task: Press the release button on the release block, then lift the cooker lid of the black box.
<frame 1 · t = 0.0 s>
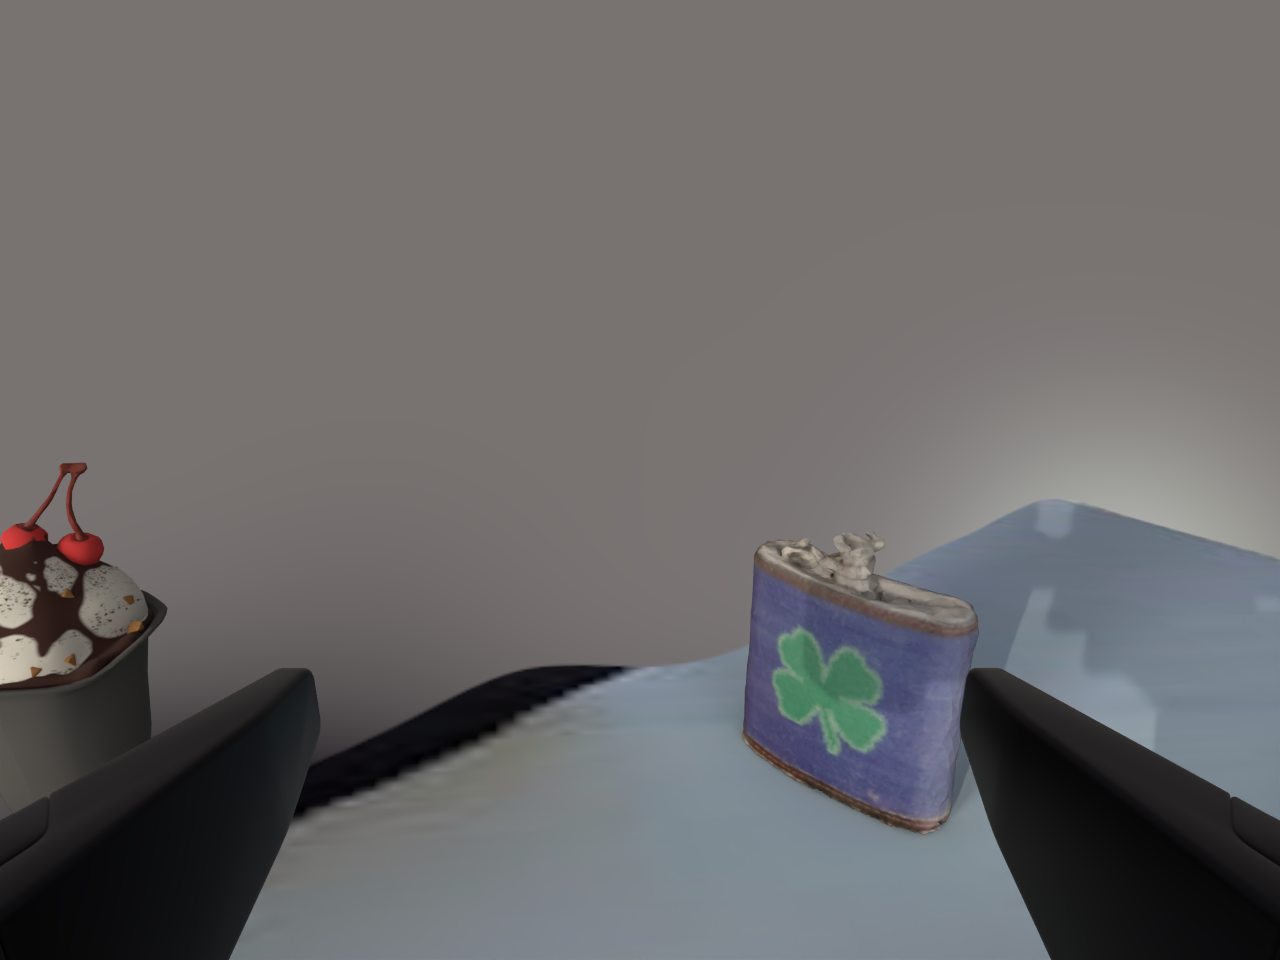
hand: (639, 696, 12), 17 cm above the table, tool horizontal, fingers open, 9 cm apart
sundae: (115, 895, 29), on the table
flask: (835, 777, 35), on the table
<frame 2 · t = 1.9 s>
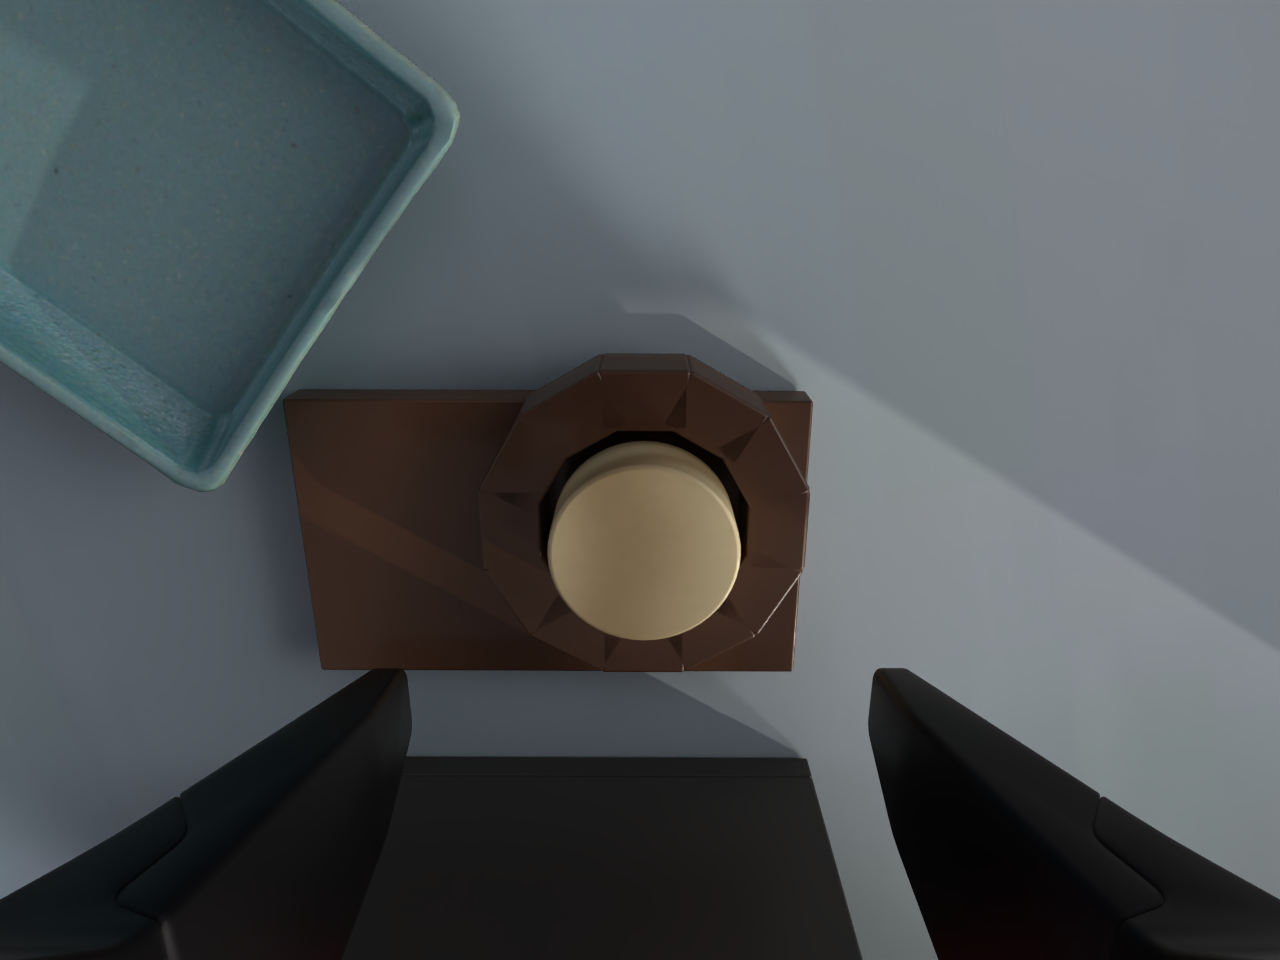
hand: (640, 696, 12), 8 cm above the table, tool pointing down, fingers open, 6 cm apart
black box: (569, 919, 24), on the table
release block: (556, 527, 20), on the table
release button: (644, 540, 17), point 3 cm above the table, slide at 0.1 cm
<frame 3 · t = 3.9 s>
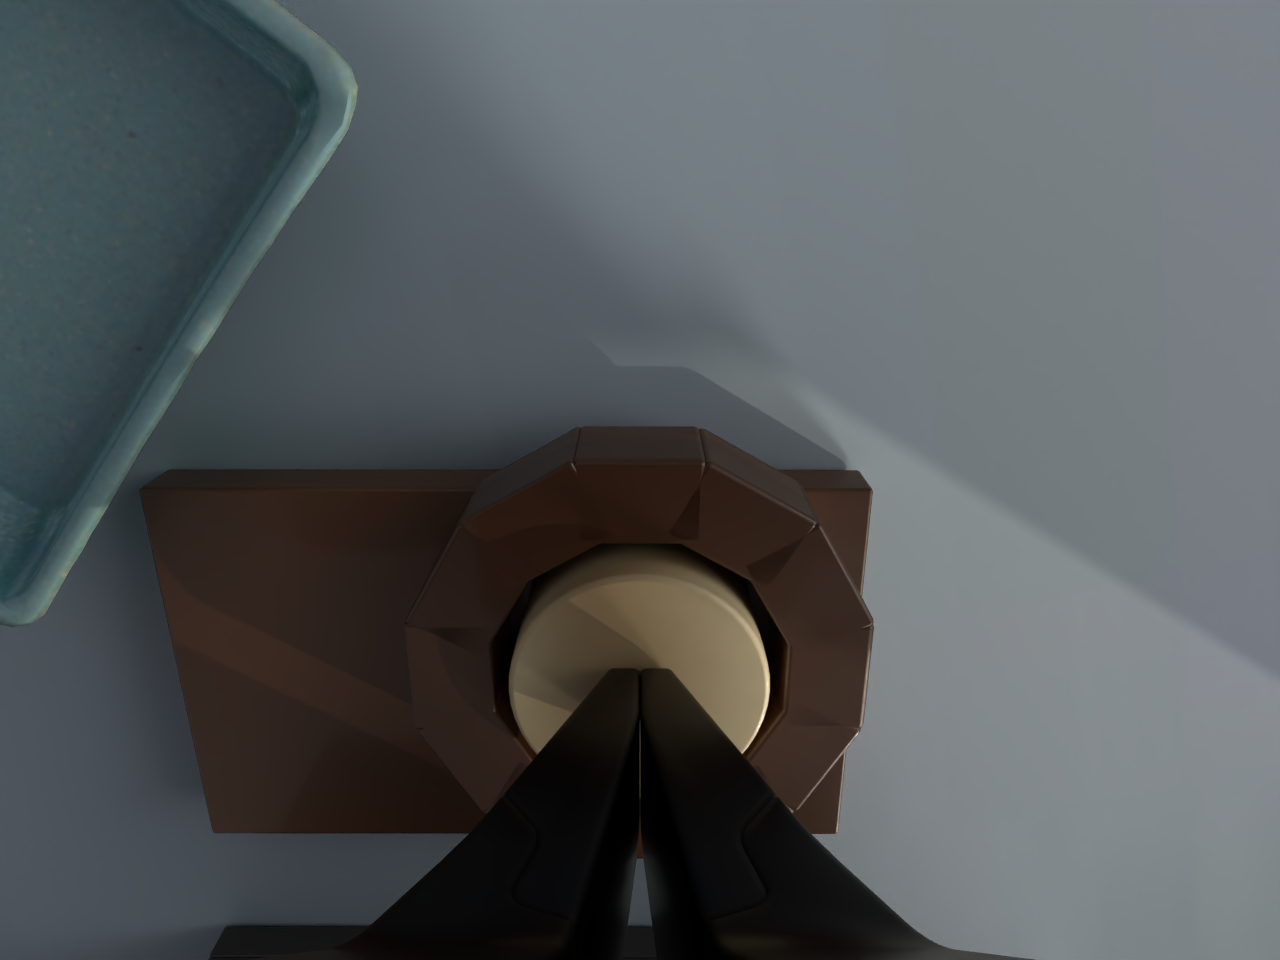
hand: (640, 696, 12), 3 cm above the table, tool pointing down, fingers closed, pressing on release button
release block: (523, 646, 15), on the table
release button: (639, 663, 12), point 2 cm above the table, slide at -0.7 cm, touching gripper
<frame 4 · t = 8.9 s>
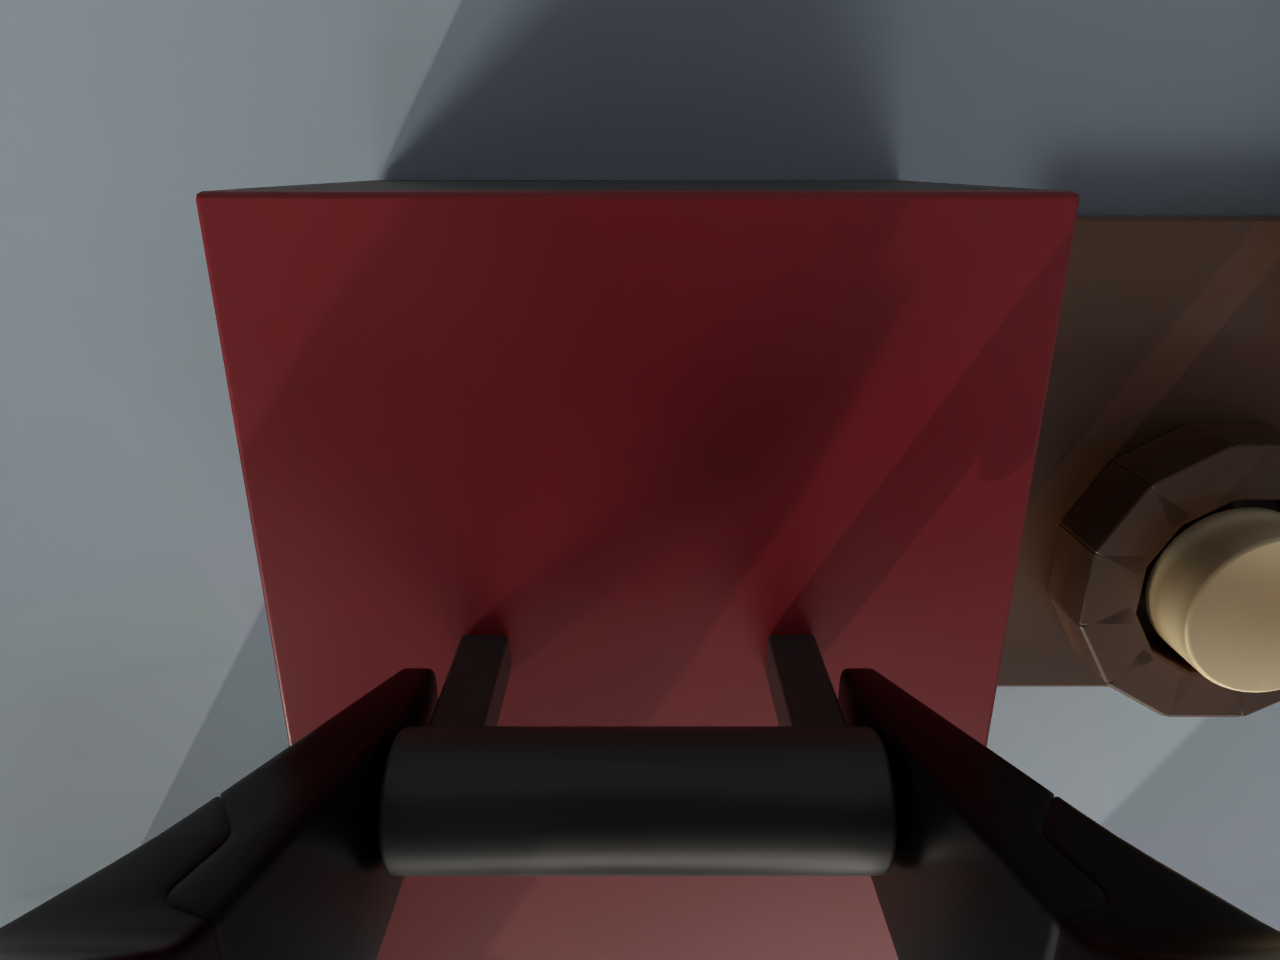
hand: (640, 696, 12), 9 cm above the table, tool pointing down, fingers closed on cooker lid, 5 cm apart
black box: (638, 463, 20), on the table
release block: (1146, 463, 20), on the table
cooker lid: (637, 718, 11), point 9 cm above the table, hinge at 0.0°, touching gripper
release button: (1251, 599, 18), point 3 cm above the table, slide at 0.1 cm
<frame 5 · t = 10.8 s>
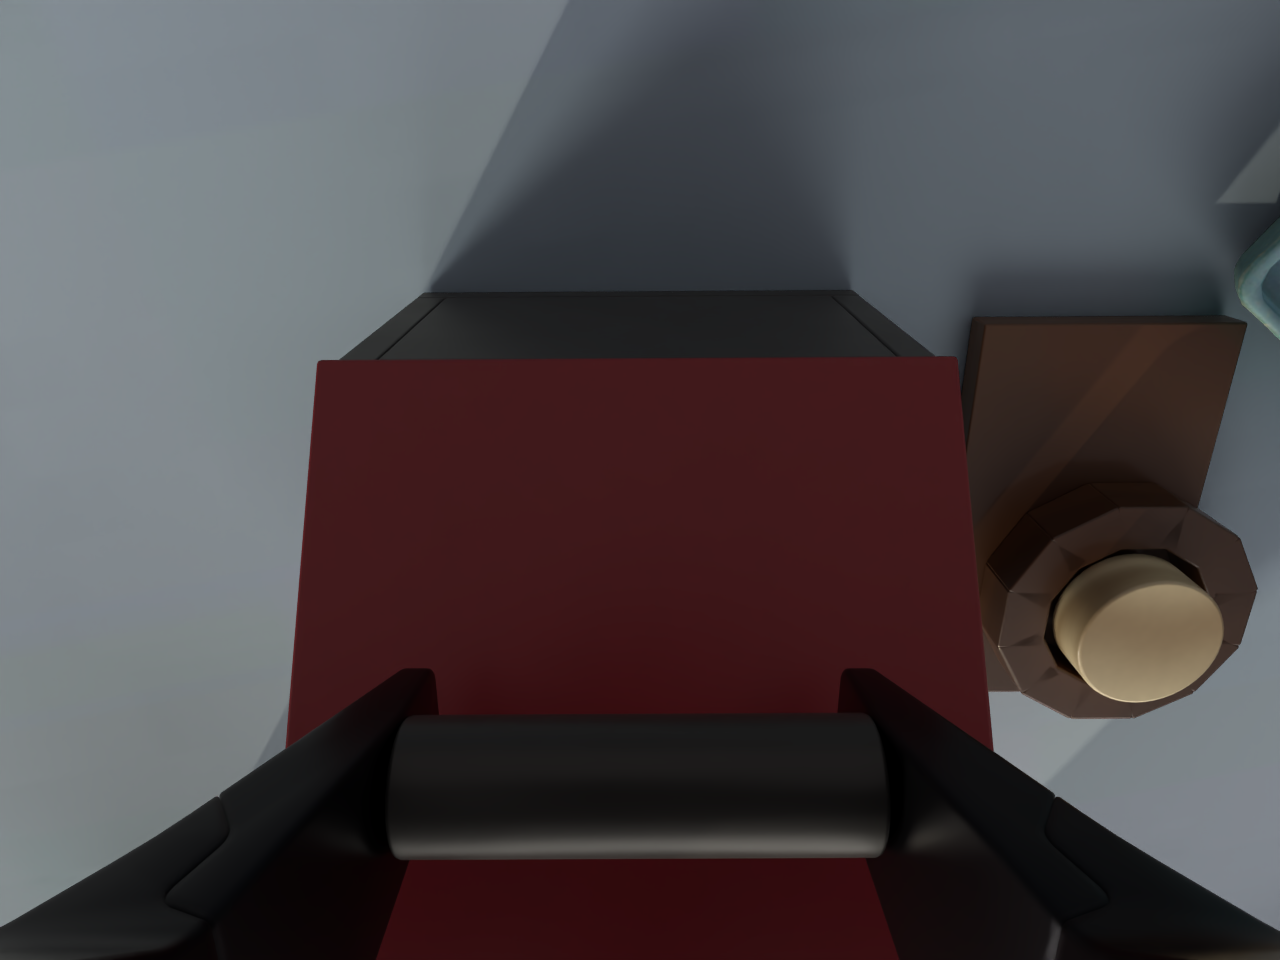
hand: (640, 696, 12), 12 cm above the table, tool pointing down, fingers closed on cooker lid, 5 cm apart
black box: (639, 513, 24), on the table
release block: (1059, 510, 24), on the table
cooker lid: (638, 776, 12), point 13 cm above the table, hinge at 35.5°, touching gripper
release button: (1134, 628, 22), point 3 cm above the table, slide at 0.1 cm
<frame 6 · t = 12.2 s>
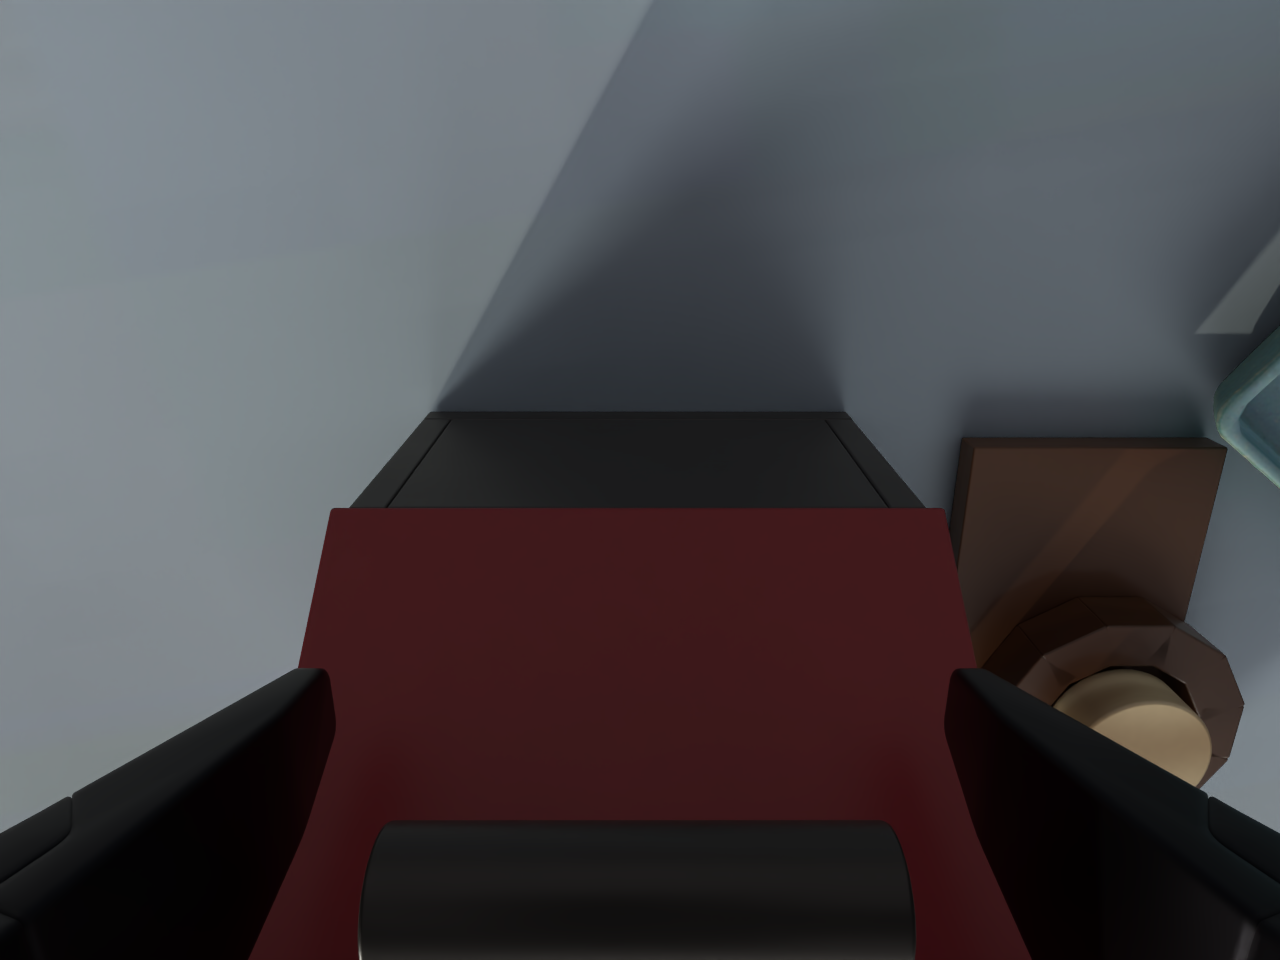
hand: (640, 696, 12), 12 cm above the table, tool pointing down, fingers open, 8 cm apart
black box: (638, 620, 24), on the table
release block: (1049, 620, 25), on the table
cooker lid: (637, 920, 11), point 14 cm above the table, hinge at 50.6°
release button: (1124, 742, 22), point 3 cm above the table, slide at 0.1 cm
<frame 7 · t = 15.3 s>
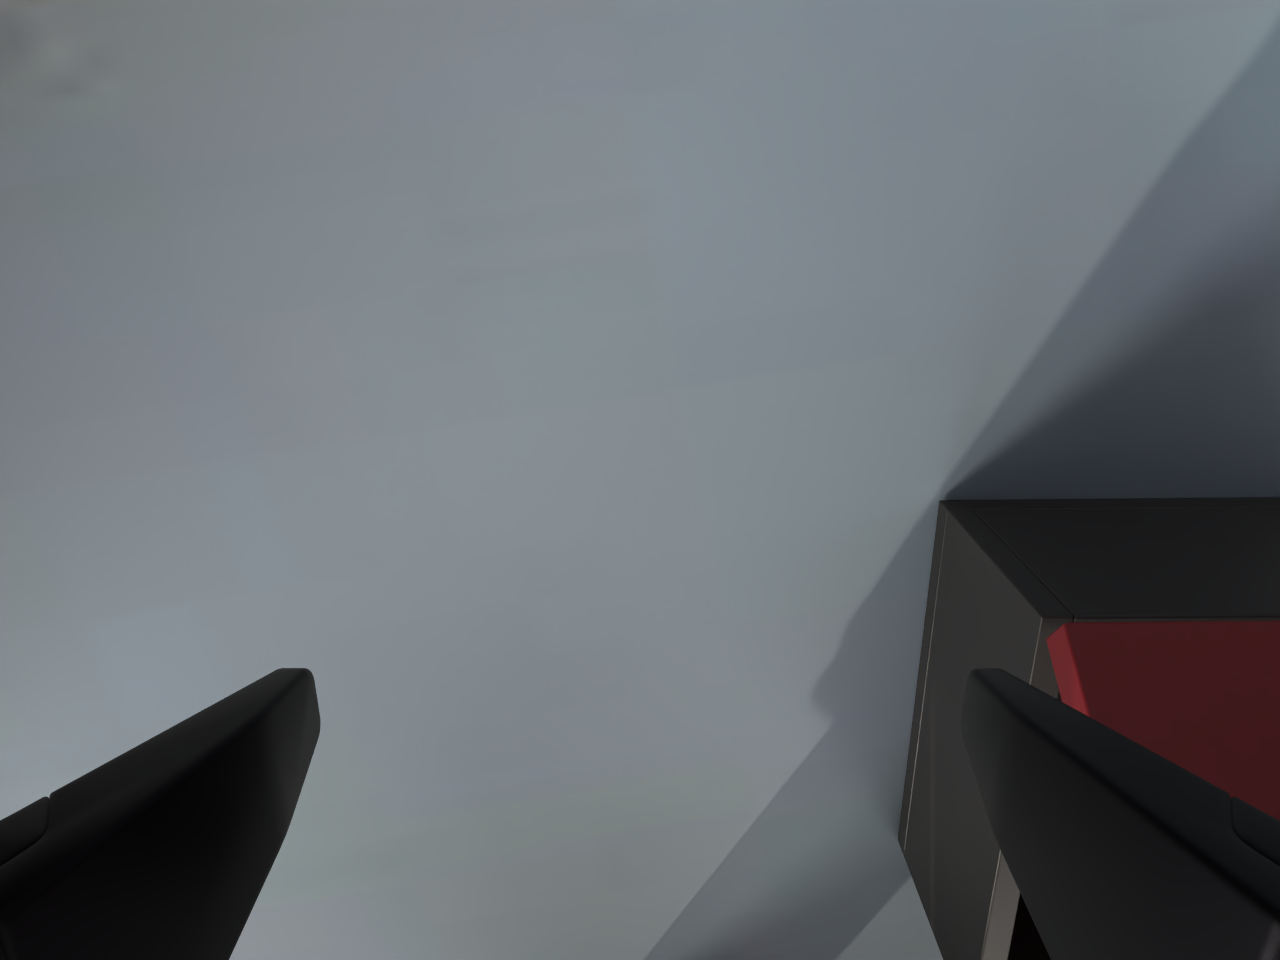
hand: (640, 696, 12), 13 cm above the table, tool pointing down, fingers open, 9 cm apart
black box: (1091, 682, 27), on the table
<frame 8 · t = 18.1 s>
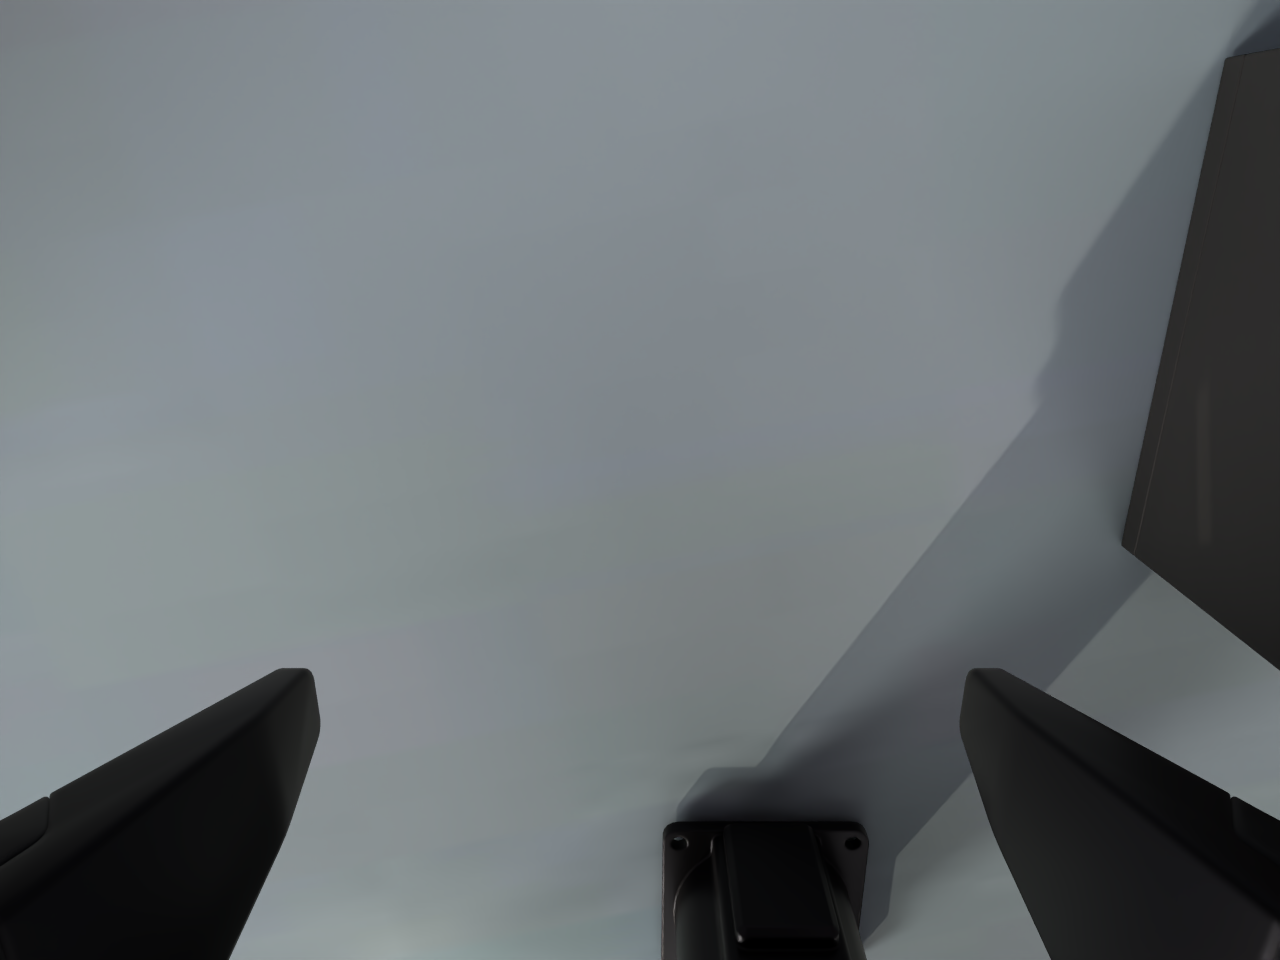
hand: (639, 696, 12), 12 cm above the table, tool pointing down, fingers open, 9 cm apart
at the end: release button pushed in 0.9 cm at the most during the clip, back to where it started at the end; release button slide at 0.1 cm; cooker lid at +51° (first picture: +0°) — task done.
